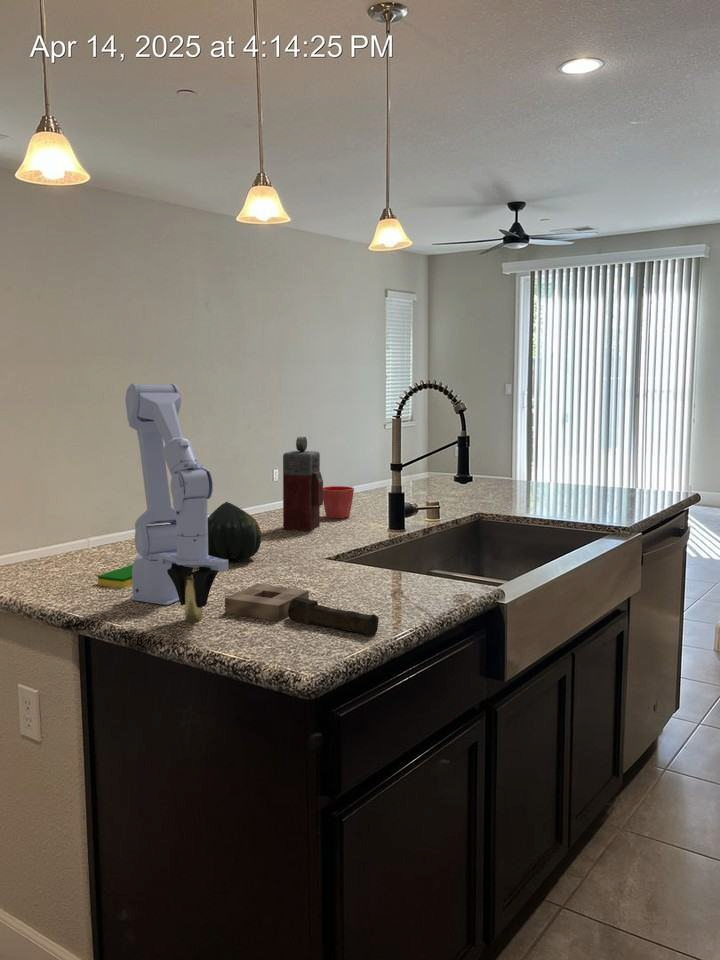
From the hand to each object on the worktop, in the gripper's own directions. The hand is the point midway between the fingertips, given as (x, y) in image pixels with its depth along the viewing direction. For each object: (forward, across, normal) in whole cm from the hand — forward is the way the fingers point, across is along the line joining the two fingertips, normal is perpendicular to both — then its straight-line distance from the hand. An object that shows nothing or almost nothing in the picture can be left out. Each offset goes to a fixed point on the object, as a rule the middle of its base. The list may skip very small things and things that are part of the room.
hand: (193, 605), depth 149 cm
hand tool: (+3, +25, +7) cm, 26 cm away
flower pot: (+3, -25, +115) cm, 118 cm away
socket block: (+3, +9, +12) cm, 15 cm away
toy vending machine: (+3, -25, +92) cm, 95 cm away
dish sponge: (+3, -31, +19) cm, 37 cm away
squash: (+3, -22, +46) cm, 51 cm away
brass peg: (+3, 0, 0) cm, 3 cm away
